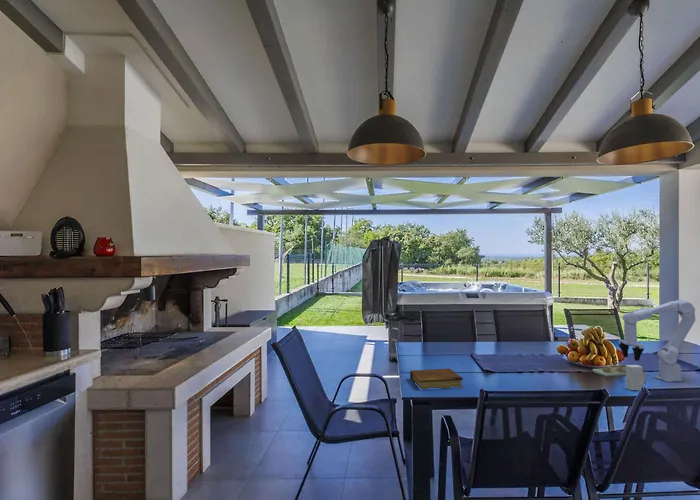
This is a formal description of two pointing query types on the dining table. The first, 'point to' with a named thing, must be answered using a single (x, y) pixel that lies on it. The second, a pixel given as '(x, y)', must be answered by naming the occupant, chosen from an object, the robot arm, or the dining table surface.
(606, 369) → the tan rectangular frame
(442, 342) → the dining table surface
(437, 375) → the diary
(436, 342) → the dining table surface
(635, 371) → the skincare box
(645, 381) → the rubber stamp
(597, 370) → the tray
